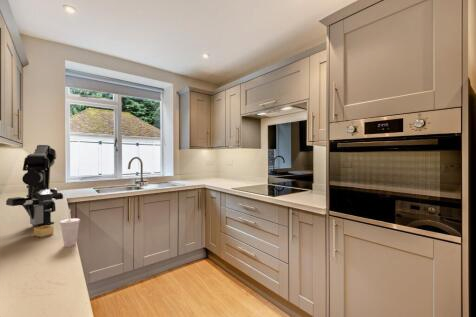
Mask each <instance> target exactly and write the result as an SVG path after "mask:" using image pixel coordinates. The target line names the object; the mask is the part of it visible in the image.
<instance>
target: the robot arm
mask: <svg viewBox="0 0 476 317" xmlns="http://www.w3.org/2000/svg"><path fill="white" fill-rule="evenodd" d="M55 160H57V151H56V150H55V149H54V148H52V147H51V145H48V144H38V145H36V148H35V149H34V152H33V153H29V154H27V155H26V157H24V161H23V167H22V171H24V172H25V173H24V174H23V176H22V182H23V183H24V184H25V185H26V189H27V193H28V194H26V197H21V196H16V197H15V196H14V197H9V198H7V199H6V200H5V202H6V203H5V204H6V206H10V207H11V206H12V207H17V206H22V207H23V208H24V210H25V212H26V213H27V214H28V216H29V219H30V218H31V219H33V217H34V212H33V206H34V205H43V223H41V224H37V225H34V226H36V227H41V226H45V225H48V226H49V225H51V224H54V223H55V222H54V221H51V220H52V219H51V218H52V213H54V212H56V211H57V210H56V208H57V207H56V202H55V200H63V199H64V194H63V193H61V192H58V189H57V188H56V187H53V188H50V184H51V183H50V181H51V167H53V165H54V164H55ZM26 171H27V172H26Z"/></svg>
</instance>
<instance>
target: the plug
mask: <svg viewBox="0 0 476 317" xmlns="http://www.w3.org/2000/svg"><path fill="white" fill-rule="evenodd" d="M33 212H34V217H33V219H31V218H30V217H29V223H30V225H32V226H35V225H37V224H41V223H43V205H34V206H33Z"/></svg>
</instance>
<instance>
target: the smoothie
mask: <svg viewBox="0 0 476 317" xmlns="http://www.w3.org/2000/svg"><path fill="white" fill-rule="evenodd" d="M71 216H72V215H71V208H69V209H68V218H66V219H62V220H60V221H59V225H60V227H61V233H62V241H63V247H64V248H69V247H73V246H76V245H77V238H78V234H79V233H78V232H79V226H80V225H79V224H80V223H81V219H80V218H78V217H77V218H76V217H75V218H74V217H73V218H72V217H71Z"/></svg>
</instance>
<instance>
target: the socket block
mask: <svg viewBox="0 0 476 317" xmlns="http://www.w3.org/2000/svg"><path fill="white" fill-rule="evenodd" d="M49 236H54V225H53V226H51V225H49V224H48V225H44V226H36V227H33V237H36V238H40V239H42V238H45V237H49Z"/></svg>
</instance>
